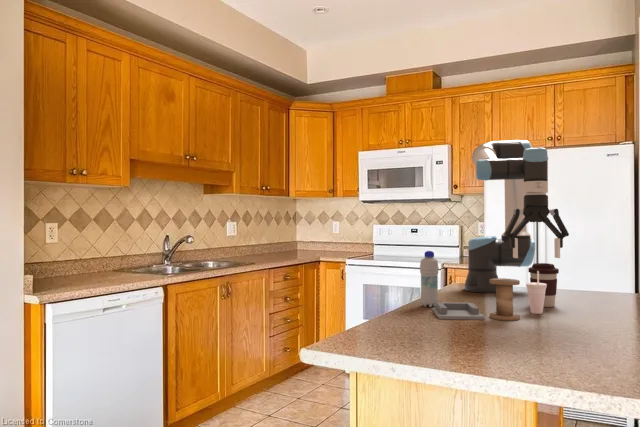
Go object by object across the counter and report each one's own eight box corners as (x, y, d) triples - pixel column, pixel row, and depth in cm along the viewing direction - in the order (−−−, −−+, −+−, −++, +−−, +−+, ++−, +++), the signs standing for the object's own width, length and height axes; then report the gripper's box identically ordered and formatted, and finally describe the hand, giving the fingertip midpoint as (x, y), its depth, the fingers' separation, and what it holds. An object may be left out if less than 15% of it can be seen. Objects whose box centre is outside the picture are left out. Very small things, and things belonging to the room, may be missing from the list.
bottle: (437, 304, 180) (437, 250, 180) (440, 308, 173) (439, 251, 173) (419, 304, 180) (418, 250, 180) (421, 307, 174) (420, 251, 174)
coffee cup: (564, 308, 171) (563, 265, 171) (535, 308, 172) (535, 265, 172) (551, 303, 181) (551, 262, 181) (524, 303, 181) (524, 262, 181)
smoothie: (549, 314, 160) (549, 272, 160) (528, 314, 161) (528, 271, 162) (544, 311, 166) (544, 269, 167) (524, 310, 168) (524, 269, 168)
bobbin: (486, 314, 161) (486, 278, 161) (514, 315, 160) (514, 278, 160) (494, 320, 152) (493, 282, 152) (523, 321, 151) (523, 282, 151)
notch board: (432, 310, 169) (432, 301, 169) (474, 310, 168) (474, 302, 168) (439, 319, 155) (439, 309, 155) (484, 319, 154) (484, 310, 154)
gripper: (500, 194, 161) (501, 258, 161) (579, 193, 159) (580, 258, 159) (494, 195, 169) (495, 256, 169) (569, 194, 167) (570, 257, 167)
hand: (536, 257), depth 164 cm, fingers open, 13 cm apart
